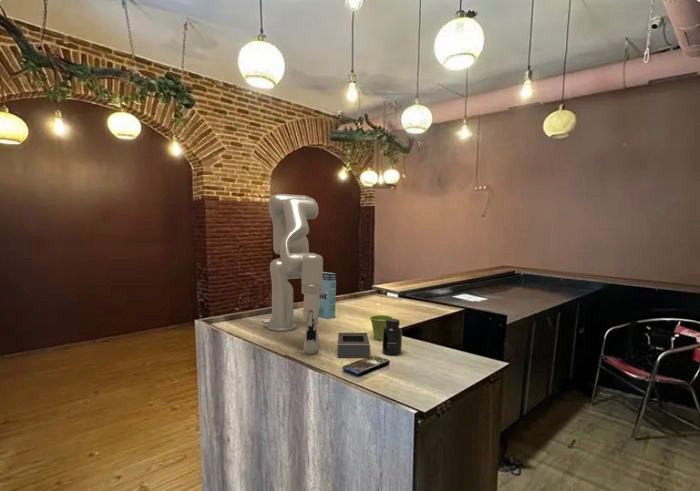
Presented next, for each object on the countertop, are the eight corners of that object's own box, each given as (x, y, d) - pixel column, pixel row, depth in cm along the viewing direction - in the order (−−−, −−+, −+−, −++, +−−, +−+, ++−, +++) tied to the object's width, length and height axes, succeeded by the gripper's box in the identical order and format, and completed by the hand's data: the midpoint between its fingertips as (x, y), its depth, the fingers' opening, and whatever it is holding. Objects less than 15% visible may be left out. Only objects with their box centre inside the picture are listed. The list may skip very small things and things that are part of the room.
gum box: (303, 313, 196) (303, 270, 195) (310, 311, 200) (310, 270, 199) (329, 319, 183) (329, 273, 182) (336, 317, 187) (336, 273, 186)
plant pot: (373, 342, 144) (373, 320, 144) (367, 336, 153) (367, 315, 153) (395, 341, 146) (396, 319, 146) (388, 335, 155) (388, 314, 155)
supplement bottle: (389, 357, 127) (389, 323, 127) (378, 351, 133) (379, 318, 133) (405, 354, 130) (405, 321, 130) (394, 349, 136) (395, 317, 136)
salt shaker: (322, 351, 133) (322, 315, 132) (315, 356, 127) (316, 319, 127) (307, 349, 135) (307, 314, 134) (300, 354, 129) (300, 317, 129)
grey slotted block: (337, 357, 126) (337, 344, 126) (338, 344, 141) (338, 332, 141) (369, 357, 126) (369, 344, 126) (366, 344, 141) (366, 332, 141)
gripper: (304, 285, 139) (303, 333, 139) (298, 292, 122) (298, 347, 123) (323, 285, 139) (323, 333, 139) (321, 292, 122) (320, 347, 123)
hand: (311, 339), depth 131 cm, fingers closed on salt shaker, 3 cm apart
